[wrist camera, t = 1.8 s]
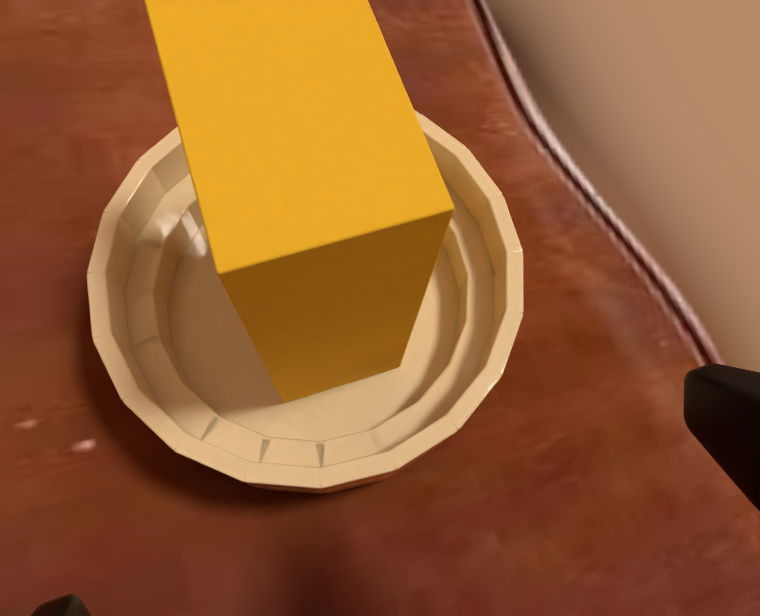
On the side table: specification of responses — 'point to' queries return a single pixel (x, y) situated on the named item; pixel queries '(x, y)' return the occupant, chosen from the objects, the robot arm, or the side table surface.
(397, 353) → the sponge
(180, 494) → the side table surface
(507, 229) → the bowl
